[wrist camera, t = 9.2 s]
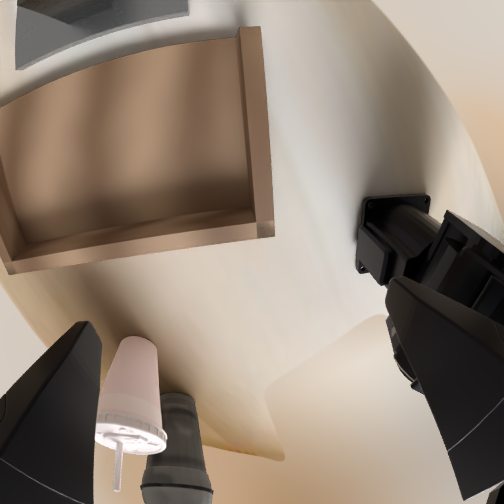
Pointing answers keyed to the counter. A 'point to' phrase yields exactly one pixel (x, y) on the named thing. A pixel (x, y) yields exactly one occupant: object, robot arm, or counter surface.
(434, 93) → the counter surface
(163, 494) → the beverage cup
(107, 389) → the smoothie
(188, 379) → the counter surface
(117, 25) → the cover plate
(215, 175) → the walnut box
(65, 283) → the counter surface
